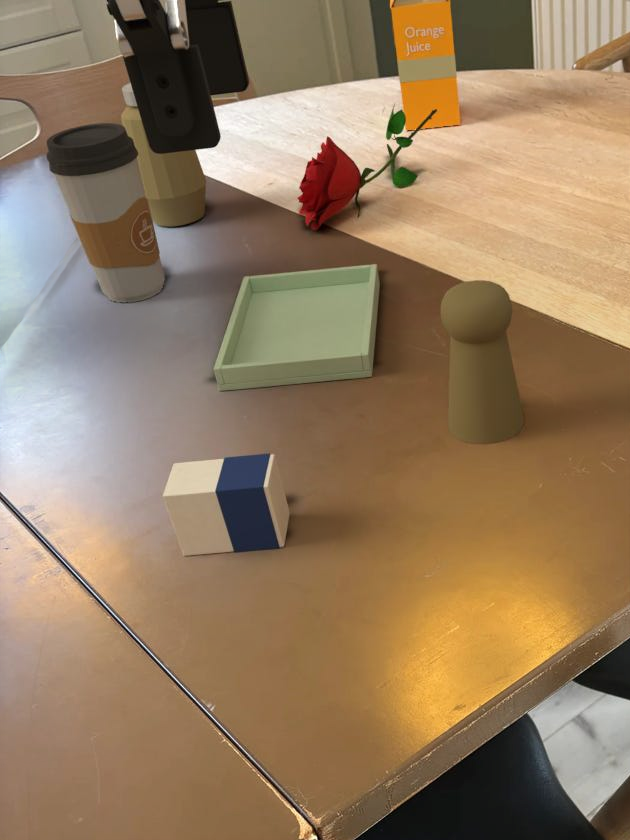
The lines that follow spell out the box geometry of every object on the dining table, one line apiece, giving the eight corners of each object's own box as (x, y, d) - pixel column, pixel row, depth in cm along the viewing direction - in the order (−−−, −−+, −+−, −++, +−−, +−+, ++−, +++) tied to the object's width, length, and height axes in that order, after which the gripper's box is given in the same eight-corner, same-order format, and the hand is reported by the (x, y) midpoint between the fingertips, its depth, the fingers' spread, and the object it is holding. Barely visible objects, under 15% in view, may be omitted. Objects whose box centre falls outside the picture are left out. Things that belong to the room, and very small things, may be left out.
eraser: (183, 557, 70) (161, 495, 66) (193, 522, 73) (173, 461, 69) (284, 548, 70) (267, 486, 66) (290, 513, 73) (274, 452, 69)
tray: (219, 391, 87) (213, 369, 86) (248, 297, 101) (243, 276, 100) (372, 377, 87) (368, 354, 85) (379, 284, 101) (376, 263, 99)
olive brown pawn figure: (459, 451, 77) (444, 313, 69) (439, 413, 81) (423, 279, 74) (534, 433, 78) (527, 295, 70) (511, 397, 82) (502, 264, 75)
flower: (407, 51, 123) (276, 153, 106) (473, 92, 124) (354, 201, 106) (388, 119, 131) (263, 225, 113) (450, 158, 131) (336, 270, 113)
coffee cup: (147, 310, 101) (97, 151, 91) (78, 305, 103) (21, 148, 93) (191, 276, 106) (148, 122, 96) (124, 271, 109) (75, 120, 99)
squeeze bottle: (194, 201, 124) (150, 33, 112) (226, 216, 119) (184, 43, 107) (134, 221, 120) (81, 50, 108) (164, 237, 115) (113, 60, 103)
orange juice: (458, 107, 144) (443, -62, 131) (461, 125, 138) (446, -51, 124) (404, 113, 144) (383, -55, 131) (404, 131, 138) (383, -44, 124)
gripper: (47, -342, 45) (164, 83, 56) (-106, -374, 32) (85, 185, 44) (213, -365, 45) (297, 67, 56) (126, -406, 32) (258, 165, 43)
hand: (204, 118), depth 50 cm, fingers open, 9 cm apart
